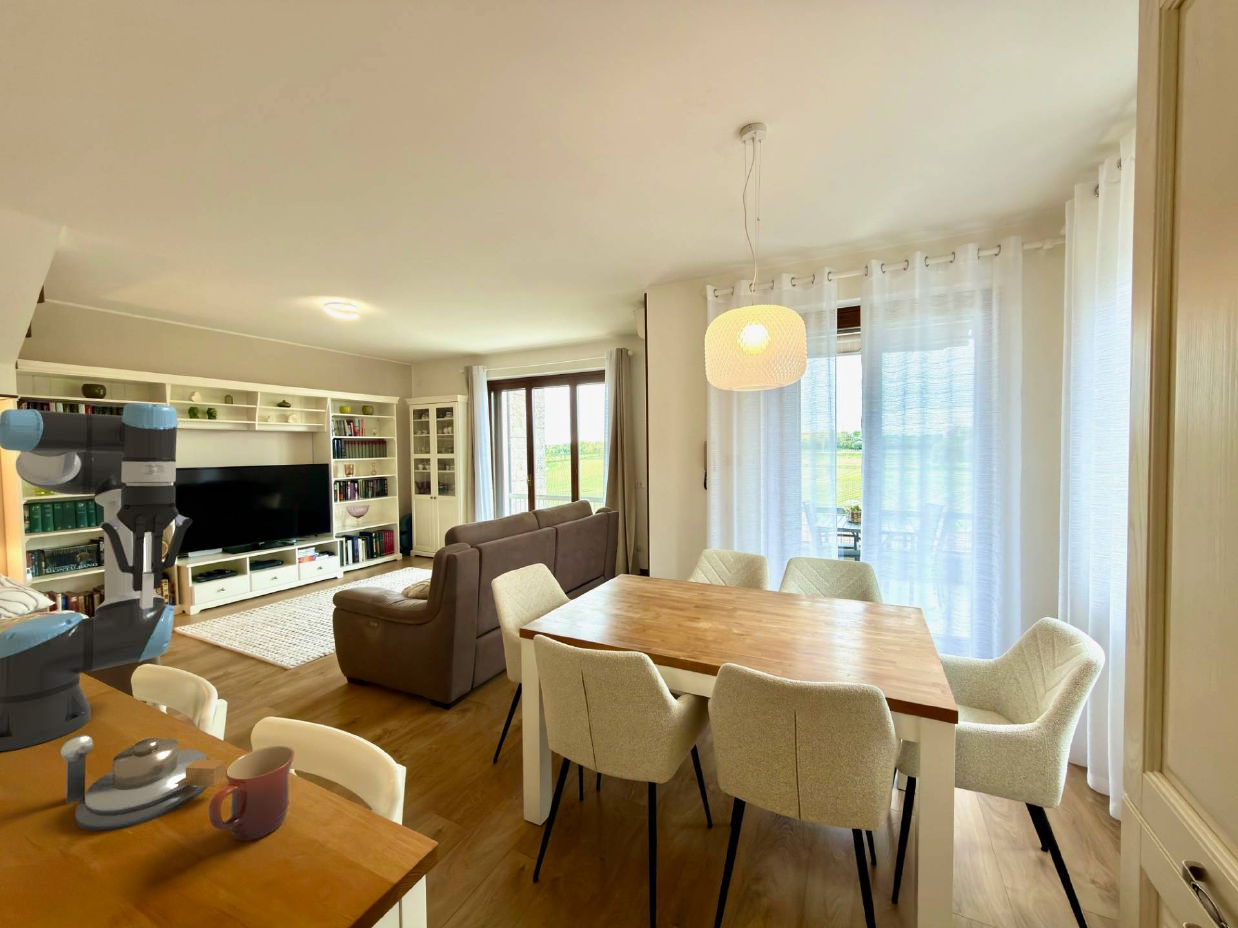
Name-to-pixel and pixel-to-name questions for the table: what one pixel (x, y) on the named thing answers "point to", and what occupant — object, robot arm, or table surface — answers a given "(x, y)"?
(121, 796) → the turntable
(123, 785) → the cover
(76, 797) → the dial stand
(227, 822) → the mug
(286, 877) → the table surface
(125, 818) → the turntable base
